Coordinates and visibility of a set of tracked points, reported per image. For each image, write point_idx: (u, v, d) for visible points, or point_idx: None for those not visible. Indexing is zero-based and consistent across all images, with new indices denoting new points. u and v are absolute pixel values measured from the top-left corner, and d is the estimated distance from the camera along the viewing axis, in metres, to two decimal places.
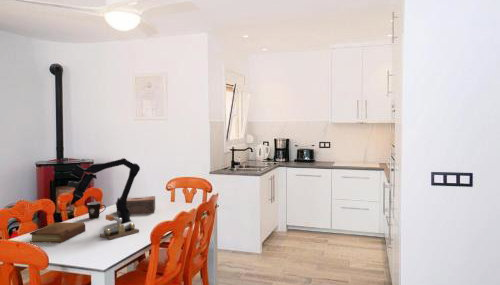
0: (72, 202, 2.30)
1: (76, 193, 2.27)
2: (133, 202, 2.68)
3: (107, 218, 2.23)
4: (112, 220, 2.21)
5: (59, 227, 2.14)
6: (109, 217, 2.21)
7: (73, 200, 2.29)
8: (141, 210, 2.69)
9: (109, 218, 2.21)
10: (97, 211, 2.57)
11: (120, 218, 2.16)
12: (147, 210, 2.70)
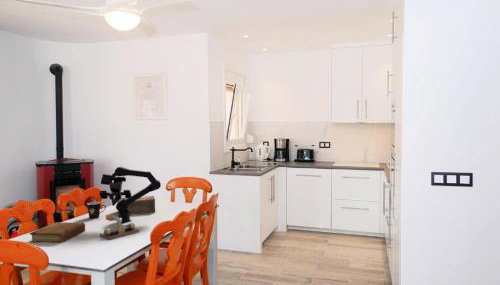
0: (115, 203, 2.33)
1: (130, 193, 2.38)
2: (134, 202, 2.68)
3: (107, 218, 2.23)
4: (112, 220, 2.21)
5: (59, 227, 2.14)
6: (109, 217, 2.21)
7: (116, 200, 2.34)
8: (143, 210, 2.70)
9: (109, 218, 2.21)
10: (97, 211, 2.57)
11: (120, 218, 2.16)
12: (148, 210, 2.71)
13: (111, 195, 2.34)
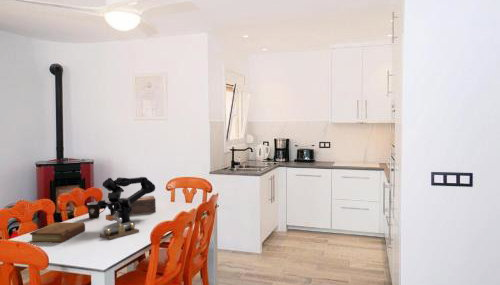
0: (113, 213, 2.30)
1: (128, 202, 2.34)
2: (135, 202, 2.68)
3: (107, 218, 2.23)
4: (112, 220, 2.21)
5: (59, 227, 2.14)
6: (109, 217, 2.21)
7: (114, 210, 2.30)
8: (143, 209, 2.70)
9: (109, 218, 2.21)
10: (97, 211, 2.57)
11: (120, 218, 2.16)
12: (149, 210, 2.72)
13: (109, 205, 2.31)
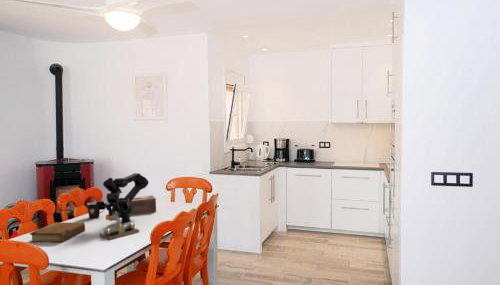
0: (112, 214, 2.26)
1: (127, 203, 2.31)
2: (135, 202, 2.68)
3: (107, 218, 2.23)
4: (112, 220, 2.21)
5: (59, 227, 2.14)
6: (109, 217, 2.21)
7: (113, 211, 2.27)
8: (144, 209, 2.71)
9: (109, 218, 2.21)
10: (97, 211, 2.57)
11: (120, 218, 2.16)
12: (149, 210, 2.72)
13: (108, 206, 2.27)
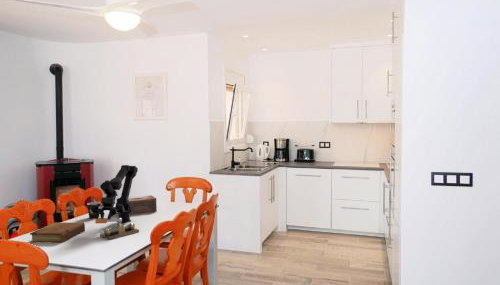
0: (109, 218, 2.18)
1: (123, 208, 2.22)
2: (136, 202, 2.68)
3: (98, 221, 2.15)
4: (106, 222, 2.16)
5: (59, 227, 2.14)
6: (102, 220, 2.15)
7: (110, 216, 2.19)
8: (144, 209, 2.71)
9: (102, 221, 2.15)
10: None
11: (120, 218, 2.16)
12: (150, 209, 2.73)
13: (100, 210, 2.19)
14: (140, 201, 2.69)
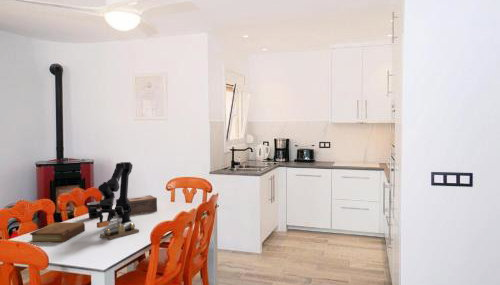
0: None
1: (122, 210, 2.16)
2: (137, 202, 2.69)
3: (102, 225, 2.06)
4: None
5: (59, 227, 2.14)
6: (105, 222, 2.08)
7: (109, 218, 2.13)
8: (145, 209, 2.72)
9: (105, 224, 2.08)
10: None
11: (120, 218, 2.17)
12: (151, 209, 2.74)
13: (99, 213, 2.13)
14: (141, 201, 2.70)
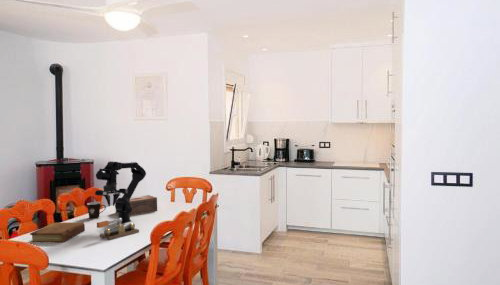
0: (114, 203, 2.32)
1: (126, 191, 2.33)
2: (138, 202, 2.69)
3: (102, 225, 2.06)
4: None
5: (59, 227, 2.14)
6: (105, 222, 2.08)
7: (115, 200, 2.32)
8: (146, 209, 2.73)
9: (105, 224, 2.08)
10: (97, 211, 2.57)
11: (120, 218, 2.17)
12: (151, 209, 2.75)
13: (105, 196, 2.31)
14: (142, 201, 2.71)
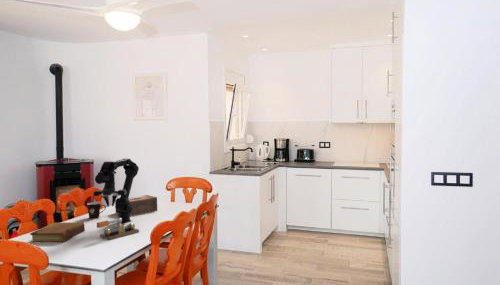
0: (113, 203, 2.32)
1: (125, 193, 2.32)
2: (139, 202, 2.69)
3: (102, 225, 2.06)
4: None
5: (59, 227, 2.14)
6: (105, 222, 2.08)
7: (114, 201, 2.32)
8: (147, 208, 2.73)
9: (105, 224, 2.08)
10: (97, 211, 2.57)
11: (120, 218, 2.17)
12: (151, 208, 2.76)
13: (104, 197, 2.29)
14: (143, 201, 2.71)
